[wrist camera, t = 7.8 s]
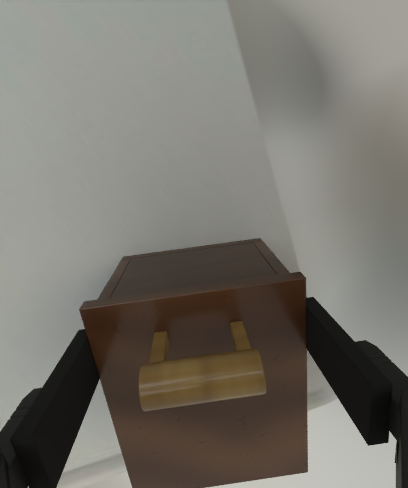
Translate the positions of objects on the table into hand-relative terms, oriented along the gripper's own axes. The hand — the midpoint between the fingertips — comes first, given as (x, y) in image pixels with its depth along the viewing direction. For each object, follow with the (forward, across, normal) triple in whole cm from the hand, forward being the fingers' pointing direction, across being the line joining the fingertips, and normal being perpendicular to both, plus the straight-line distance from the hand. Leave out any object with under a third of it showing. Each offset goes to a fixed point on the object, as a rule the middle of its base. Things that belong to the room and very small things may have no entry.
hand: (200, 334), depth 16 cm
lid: (0, 0, -4) cm, 4 cm away
